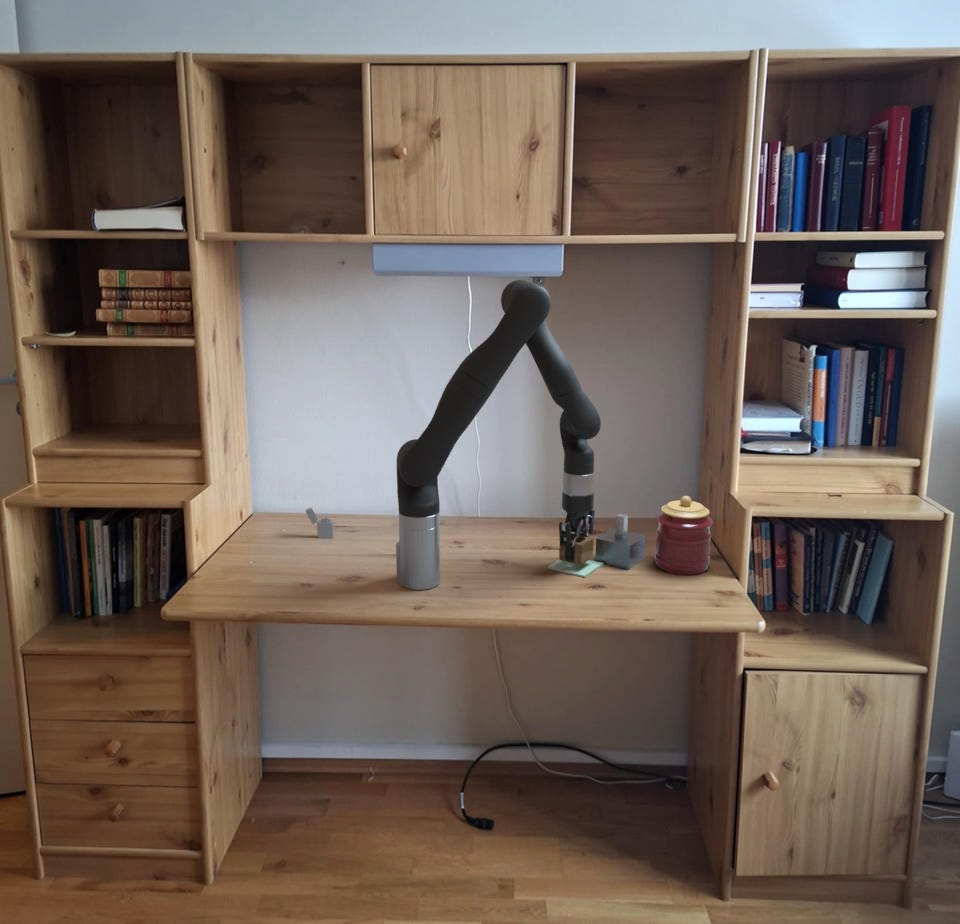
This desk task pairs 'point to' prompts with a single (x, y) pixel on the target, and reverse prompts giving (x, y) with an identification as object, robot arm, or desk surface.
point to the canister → (683, 537)
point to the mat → (576, 567)
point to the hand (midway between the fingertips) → (576, 556)
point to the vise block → (620, 545)
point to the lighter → (321, 525)
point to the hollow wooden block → (579, 550)
